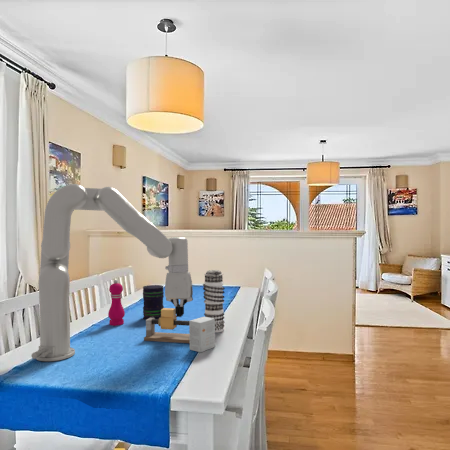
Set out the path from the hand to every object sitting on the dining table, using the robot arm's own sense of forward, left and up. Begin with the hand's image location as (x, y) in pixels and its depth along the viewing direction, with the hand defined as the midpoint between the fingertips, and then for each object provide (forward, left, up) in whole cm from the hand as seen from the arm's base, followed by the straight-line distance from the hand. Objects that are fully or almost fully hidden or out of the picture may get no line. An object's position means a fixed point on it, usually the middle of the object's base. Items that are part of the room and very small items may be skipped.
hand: (179, 316), depth 156 cm
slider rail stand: (0, +2, -9) cm, 9 cm away
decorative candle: (+16, -10, -9) cm, 21 cm away
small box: (-9, -12, -9) cm, 17 cm away
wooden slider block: (0, +5, -5) cm, 7 cm away
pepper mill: (+18, +36, -9) cm, 42 cm away
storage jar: (+32, +24, -9) cm, 41 cm away
